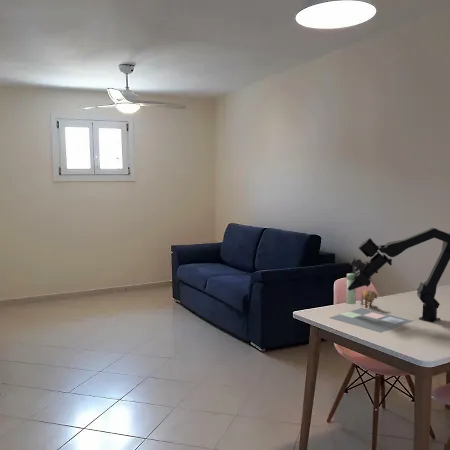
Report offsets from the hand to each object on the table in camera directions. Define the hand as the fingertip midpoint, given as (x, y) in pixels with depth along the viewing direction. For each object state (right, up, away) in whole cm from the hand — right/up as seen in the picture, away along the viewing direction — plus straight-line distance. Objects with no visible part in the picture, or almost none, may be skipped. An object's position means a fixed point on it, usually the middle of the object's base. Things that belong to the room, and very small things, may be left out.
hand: (348, 288), depth 210 cm
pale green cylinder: (+1, -7, 0) cm, 7 cm away
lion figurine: (+14, -11, +16) cm, 24 cm away
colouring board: (+8, -13, -6) cm, 16 cm away
